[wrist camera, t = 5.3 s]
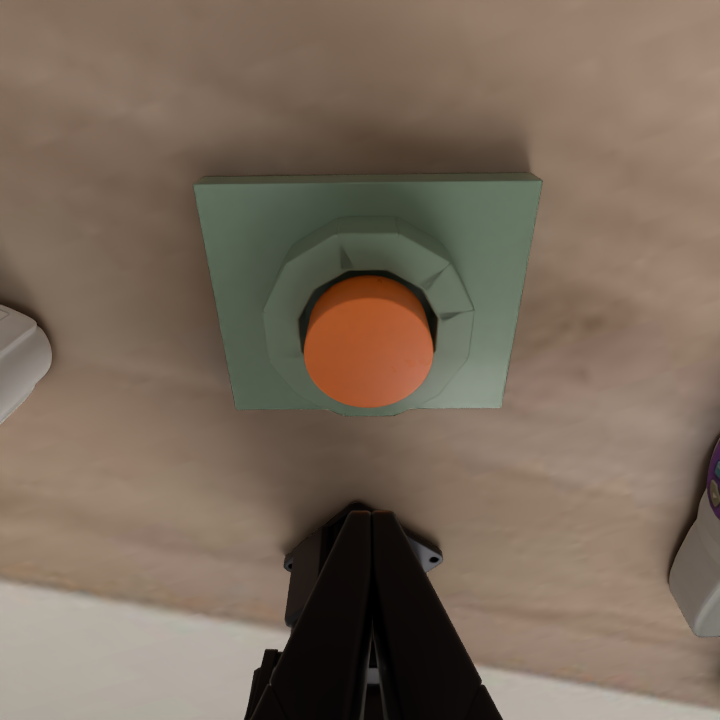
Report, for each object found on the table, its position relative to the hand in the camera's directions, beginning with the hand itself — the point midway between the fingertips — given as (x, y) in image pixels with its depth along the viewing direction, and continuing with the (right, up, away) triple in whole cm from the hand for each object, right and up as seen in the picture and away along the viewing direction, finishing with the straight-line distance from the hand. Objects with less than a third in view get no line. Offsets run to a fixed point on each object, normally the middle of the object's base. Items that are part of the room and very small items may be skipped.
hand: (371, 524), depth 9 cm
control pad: (0, +6, +9) cm, 11 cm away
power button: (0, +4, +7) cm, 8 cm away
